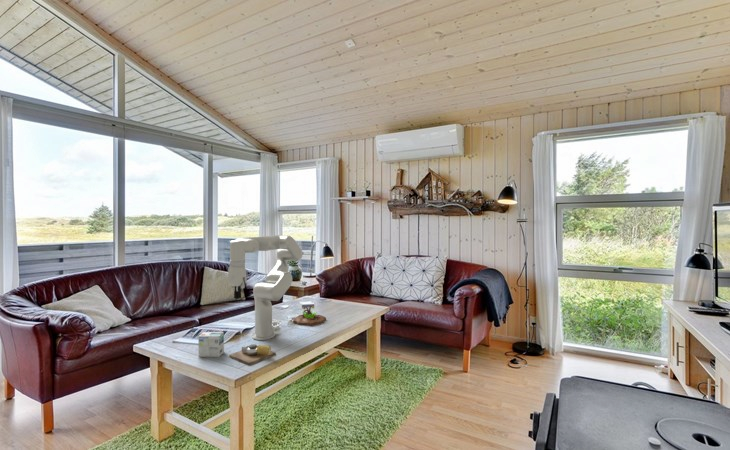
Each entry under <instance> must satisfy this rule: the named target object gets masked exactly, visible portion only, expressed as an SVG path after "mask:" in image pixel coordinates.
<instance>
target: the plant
mask: <svg viewBox="0 0 730 450" xmlns="http://www.w3.org/2000/svg"><path fill="white" fill-rule="evenodd" d="M311 308H312V309H314V308H315V306H314V305H309V307H307V306H303V311H302V313H301V314H298V315H297V316H296V317H294V318H293V319H292V323H293V324H296V325H297V326H305V327H313V326H318V325H321V324H323V323H325V322H326V321H327V317H325V316H324V315H321V314H317V311H314V312H313V310H311Z"/></svg>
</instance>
